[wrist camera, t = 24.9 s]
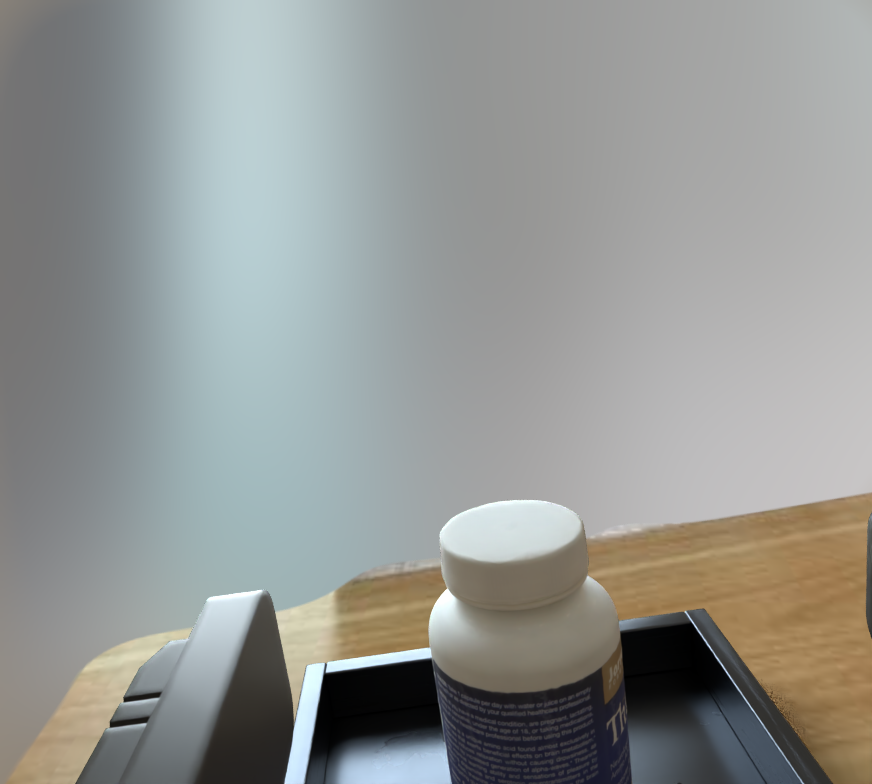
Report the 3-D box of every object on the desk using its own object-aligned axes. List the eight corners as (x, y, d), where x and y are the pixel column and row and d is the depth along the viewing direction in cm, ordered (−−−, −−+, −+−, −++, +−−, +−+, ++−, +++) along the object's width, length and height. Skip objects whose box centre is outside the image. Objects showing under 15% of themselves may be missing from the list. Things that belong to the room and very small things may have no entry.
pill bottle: (664, 879, 21) (640, 555, 18) (469, 915, 20) (420, 591, 18) (605, 743, 26) (581, 477, 24) (450, 770, 26) (409, 504, 23)
